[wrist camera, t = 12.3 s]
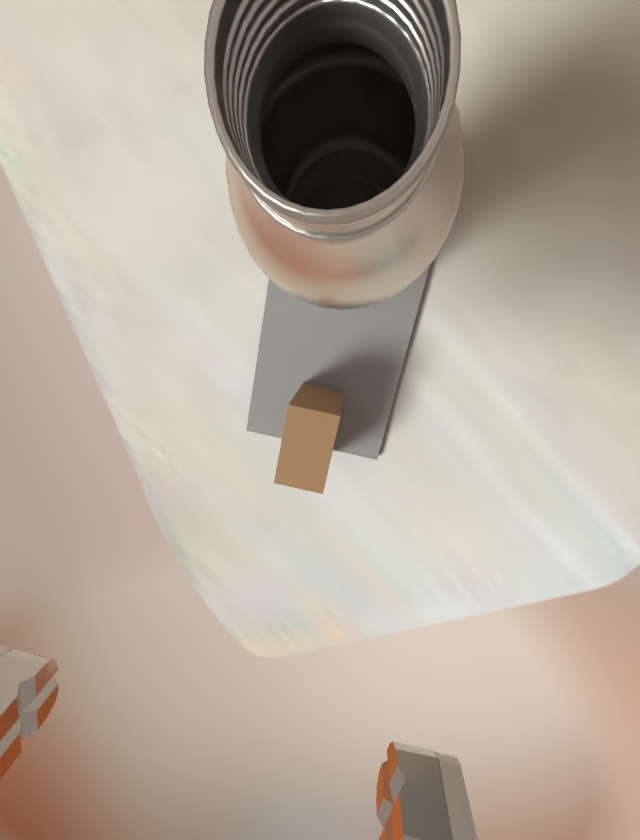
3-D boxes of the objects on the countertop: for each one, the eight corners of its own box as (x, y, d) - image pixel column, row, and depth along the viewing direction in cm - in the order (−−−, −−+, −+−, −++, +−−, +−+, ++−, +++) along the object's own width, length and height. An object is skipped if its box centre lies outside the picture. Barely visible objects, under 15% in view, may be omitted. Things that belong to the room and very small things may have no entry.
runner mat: (294, 120, 23) (271, 53, 17) (459, 153, 23) (497, 97, 16) (247, 434, 29) (217, 469, 23) (375, 463, 29) (379, 506, 23)
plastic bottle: (311, 316, 26) (179, 358, 7) (292, 205, 24) (28, -180, 5) (408, 298, 25) (579, 286, 6) (396, 182, 23) (588, -418, 4)
